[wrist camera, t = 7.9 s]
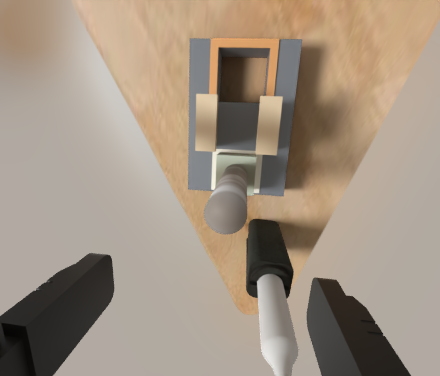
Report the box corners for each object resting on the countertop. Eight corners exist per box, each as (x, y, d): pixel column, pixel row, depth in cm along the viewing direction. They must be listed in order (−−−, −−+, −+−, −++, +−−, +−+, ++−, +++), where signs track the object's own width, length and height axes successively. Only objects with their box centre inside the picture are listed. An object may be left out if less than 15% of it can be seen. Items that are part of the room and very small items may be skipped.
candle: (275, 249, 40) (318, 433, 16) (245, 245, 40) (243, 418, 16) (280, 221, 38) (334, 377, 14) (249, 218, 39) (252, 362, 15)
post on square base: (219, 152, 33) (190, 176, 16) (255, 154, 32) (265, 181, 15) (218, 186, 34) (189, 243, 17) (252, 188, 33) (258, 250, 16)
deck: (196, 48, 33) (189, 37, 29) (295, 50, 32) (302, 38, 28) (194, 183, 38) (187, 189, 34) (279, 189, 37) (283, 196, 33)
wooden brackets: (207, 101, 31) (196, 93, 24) (274, 103, 30) (282, 96, 24) (205, 146, 33) (195, 150, 26) (270, 149, 32) (276, 155, 25)
